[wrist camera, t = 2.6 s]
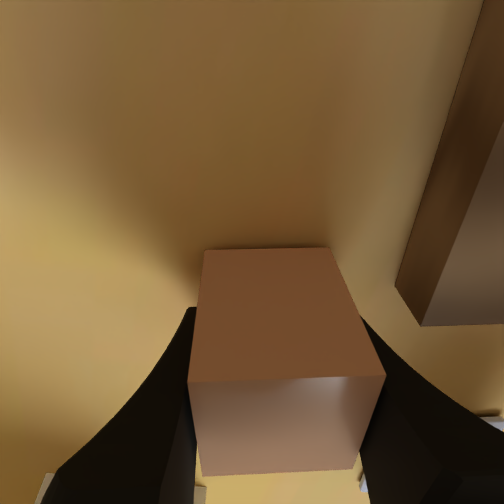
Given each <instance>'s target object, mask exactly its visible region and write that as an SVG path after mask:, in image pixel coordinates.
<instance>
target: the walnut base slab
mask: <svg viewBox="0 0 504 504" xmlns="http://www.w3.org/2000/svg"><path fill="white" fill-rule="evenodd" d="M395 287H396V289H397V291H398V292H399V294H400V295H401V297H402V298H403V300H404V302H405V303H406V305H407V306H408V308H409V309H410V311H411V312H412V314H413V316H414V317H415V319H416V320H417V322H418V323H419V325H420V327H422V326H452V325H483V324H504V0H484V4H483V7H482V10H481V13H480V16H479V20H478V23H477V26H476V29H475V32H474V35H473V39H472V42H471V45H470V48H469V51H468V55H467V58H466V61H465V64H464V67H463V71H462V74H461V77H460V80H459V83H458V86H457V90H456V93H455V96H454V99H453V102H452V106H451V109H450V112H449V115H448V118H447V121H446V125H445V128H444V131H443V134H442V137H441V141H440V144H439V147H438V150H437V153H436V156H435V160H434V163H433V166H432V169H431V172H430V176H429V179H428V182H427V185H426V188H425V192H424V195H423V198H422V201H421V204H420V207H419V211H418V214H417V217H416V220H415V223H414V227H413V230H412V233H411V236H410V239H409V242H408V246H407V249H406V252H405V255H404V258H403V262H402V265H401V268H400V271H399V274H398V277H397V281H396V284H395Z"/></svg>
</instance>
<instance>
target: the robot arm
mask: <svg viewBox="0 0 504 504" xmlns="http://www.w3.org/2000/svg"><path fill="white" fill-rule="evenodd" d="M196 312H197V307H189V308H188V309H187V310H186V313H185V315H184V317H183V319H182V321H181V323H180V325H179V327H178V329H177V331H176V333H175V335H174V337H173V338H172V340H171V342H170V343H169V345H168V347H167V349H166V350H165V352H164V353H163V355H162V356H161V358H160V359H159V361H158V362H157V364H156V365H155V367H154V368H153V370H152V371H151V373H150V374H149V375H148V377H147V378H146V379H145V381H144V382H143V383H142V384H141V386H140V387H139V388H138V390H137V391H136V392H135V393H134V394H133V396H132V397H131V398H130V399H129V400H128V401H127V403H126V404H125V405H124V406H123V407H122V408H121V409H120V411H119V412H118V413H117V414H116V415H115V416H114V417H113V418H112V419H111V420H110V421H109V422H108V423H107V424H106V425H105V426H104V427H103V428H102V429H101V430H100V431H99V432H98V433H97V434H96V435H95V436H94V437H93V438H92V439H91V440H90V441H89V442H88V443H87V444H86V445H85V446H83V447H82V448H81V449H80V450H79V451H78V452H77V453H76V454H74V455H73V456H72V457H71V458H70V459H69V460H68V461H67V462H65V463H64V464H63V465H62V466H61V467H60V468H59V469H58V470H57V471H56V473H55V475H54V477H53V479H52V480H51V482H50V484H49V486H48V488H47V490H46V492H45V494H44V496H43V498H42V501H41V503H40V504H194V485H195V468H196V451H197V439H196V433H195V427H194V421H193V415H192V409H191V403H190V396H189V390H188V384H187V381H188V373H189V365H190V358H191V350H192V343H193V335H194V327H195V320H196ZM360 317H361V316H360ZM361 319H362V322H363V324H364V326H365V328H366V331H367V333H368V335H369V337H370V339H371V342H372V344H373V346H374V348H375V351H376V353H377V355H378V357H379V360H380V362H381V364H382V366H383V368H384V371H385V373H386V378H385V381H384V383H383V386H382V389H381V392H380V394H379V397H378V400H377V403H376V405H375V408H374V411H373V414H372V416H371V419H370V422H369V425H368V427H367V430H366V433H365V436H364V439H363V441H362V444H361V447H360V450H359V452H360V457H361V461H362V466H363V470H364V474H363V476H362V479H361V481H360V484H359V488H360V491H362V492H368V494H369V499H370V504H504V432H503V431H502V430H503V429H504V419H503V418H502V417H499V416H495V417H478V416H476V415H475V414H473V413H472V412H470V411H469V410H467V409H466V408H464V407H463V406H461V405H460V404H458V403H457V402H455V401H454V400H453V399H451V398H450V397H448V396H447V395H446V394H444V393H443V392H441V391H440V390H439V389H437V388H436V387H435V386H433V385H432V384H431V383H430V382H428V381H427V380H426V379H425V378H423V377H422V376H421V375H420V374H419V373H417V372H416V371H415V370H414V369H413V368H411V367H410V366H409V365H408V364H407V363H406V362H405V361H404V360H403V359H402V358H401V357H399V356H398V355H397V354H396V353H395V352H394V351H393V350H392V349H391V348H390V347H389V346H388V345H387V344H386V343H385V342H384V341H383V340H382V339H381V338H380V337H379V335H378V334H377V333H376V332H375V331H374V330H373V329H372V328H371V327H370V326H369V325H368V324H367V322H366V321H365V320H364V319H363V318H362V317H361Z"/></svg>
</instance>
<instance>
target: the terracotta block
mask: <svg viewBox="0 0 504 504" xmlns="http://www.w3.org/2000/svg"><path fill="white" fill-rule="evenodd" d="M385 378H386V373H385V371H384V368H383V366H382V364H381V362H380V360H379V357H378V355H377V353H376V351H375V348H374V346H373V344H372V342H371V339H370V337H369V335H368V333H367V331H366V328H365V326H364V324H363V322H362V319H361V317H360V315H359V313H358V310H357V308H356V306H355V304H354V302H353V299H352V297H351V295H350V293H349V290H348V288H347V286H346V284H345V281H344V279H343V277H342V275H341V273H340V270H339V268H338V266H337V264H336V261H335V259H334V257H333V255H332V252H331V250H330V248H329V247H323V248H275V249H226V250H205V251H204V259H203V266H202V274H201V282H200V289H199V297H198V304H197V312H196V320H195V327H194V335H193V343H192V350H191V358H190V365H189V373H188V381H187V384H188V390H189V396H190V403H191V409H192V415H193V421H194V427H195V433H196V439H197V445H198V452H199V458H200V464H201V470H202V476H203V477H205V476H225V475H245V474H265V473H285V472H306V471H326V470H346V469H353V466H354V463H355V461H356V458H357V455H358V452H359V450H360V447H361V444H362V441H363V439H364V436H365V433H366V430H367V427H368V425H369V422H370V419H371V416H372V414H373V411H374V408H375V405H376V403H377V400H378V397H379V394H380V392H381V389H382V386H383V383H384V381H385Z"/></svg>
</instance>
